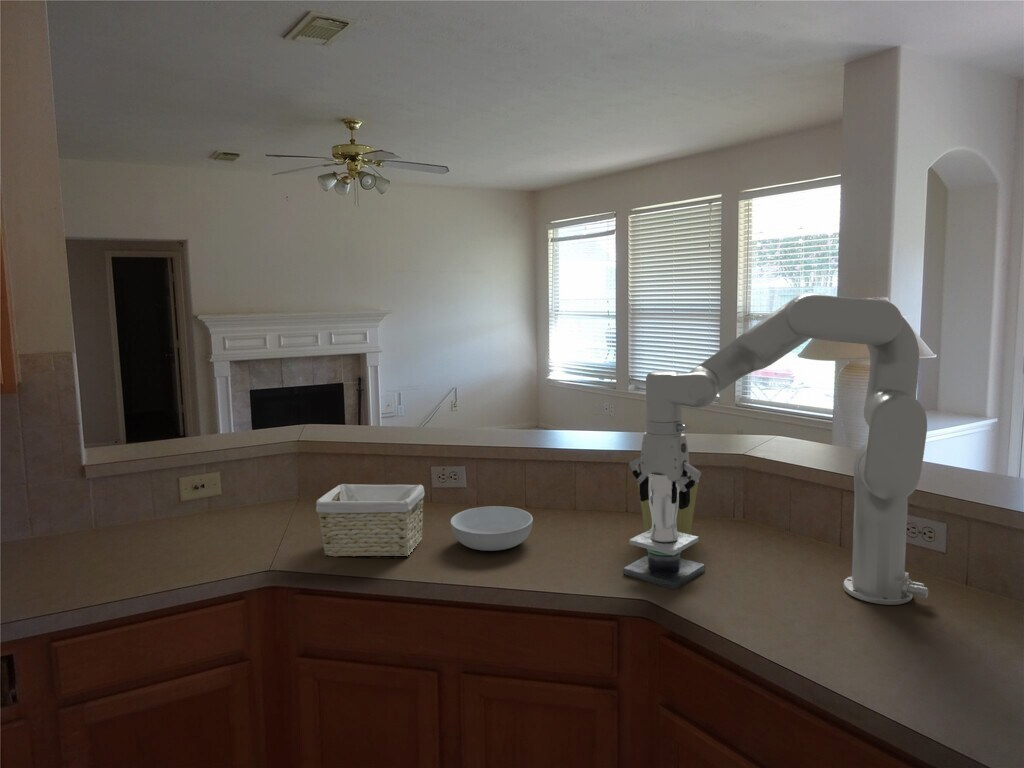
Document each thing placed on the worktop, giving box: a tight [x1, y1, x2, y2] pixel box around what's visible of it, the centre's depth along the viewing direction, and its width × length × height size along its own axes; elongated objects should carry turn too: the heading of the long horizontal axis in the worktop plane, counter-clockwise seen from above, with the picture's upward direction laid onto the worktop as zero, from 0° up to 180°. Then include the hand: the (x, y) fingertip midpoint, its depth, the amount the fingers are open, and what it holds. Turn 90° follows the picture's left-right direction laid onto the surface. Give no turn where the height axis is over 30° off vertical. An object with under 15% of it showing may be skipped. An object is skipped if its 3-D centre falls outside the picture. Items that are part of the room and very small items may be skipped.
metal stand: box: [622, 529, 706, 591], centre depth 158 cm, size 13×13×8 cm
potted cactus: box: [637, 474, 700, 535], centre depth 181 cm, size 15×15×30 cm
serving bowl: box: [450, 505, 534, 552], centre depth 179 cm, size 21×21×7 cm
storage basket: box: [315, 483, 426, 557], centre depth 179 cm, size 24×16×15 cm
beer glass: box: [648, 473, 680, 542], centre depth 157 cm, size 7×7×15 cm
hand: (664, 503), depth 156 cm, fingers open, 9 cm apart
